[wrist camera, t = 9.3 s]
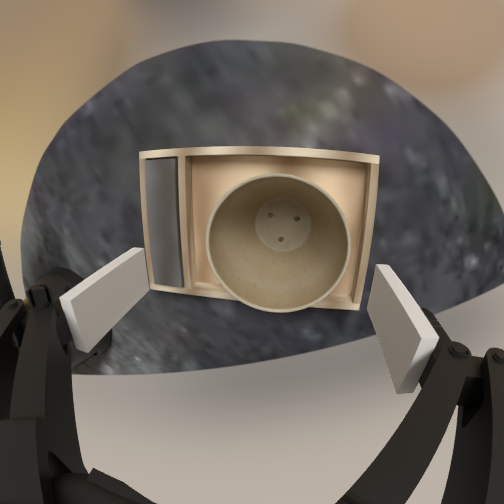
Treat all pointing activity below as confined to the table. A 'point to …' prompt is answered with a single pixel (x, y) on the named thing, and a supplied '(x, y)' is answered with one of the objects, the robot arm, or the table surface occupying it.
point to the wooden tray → (258, 163)
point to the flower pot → (278, 242)
